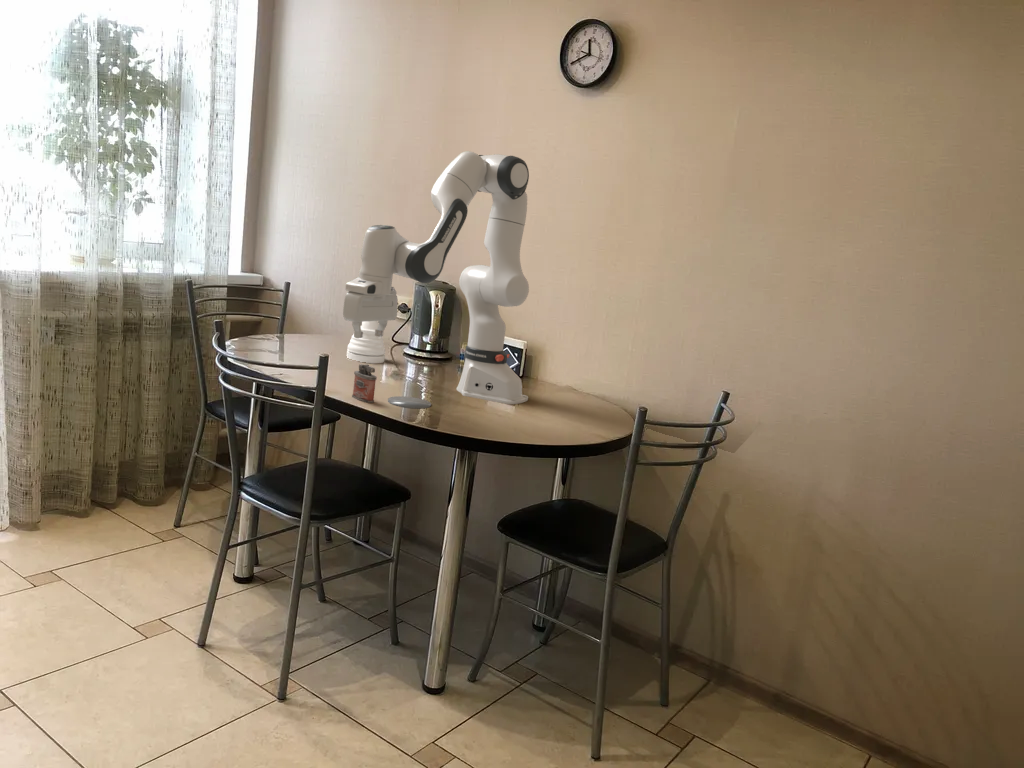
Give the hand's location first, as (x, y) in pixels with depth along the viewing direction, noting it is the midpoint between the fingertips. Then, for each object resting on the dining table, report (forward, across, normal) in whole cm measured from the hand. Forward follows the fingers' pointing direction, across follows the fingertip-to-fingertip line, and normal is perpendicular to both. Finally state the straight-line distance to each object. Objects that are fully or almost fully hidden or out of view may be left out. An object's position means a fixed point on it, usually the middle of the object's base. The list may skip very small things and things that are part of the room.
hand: (368, 337), depth 215 cm
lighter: (+18, 0, 0) cm, 18 cm away
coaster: (+18, -8, +10) cm, 22 cm away
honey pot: (+17, -48, -34) cm, 61 cm away
